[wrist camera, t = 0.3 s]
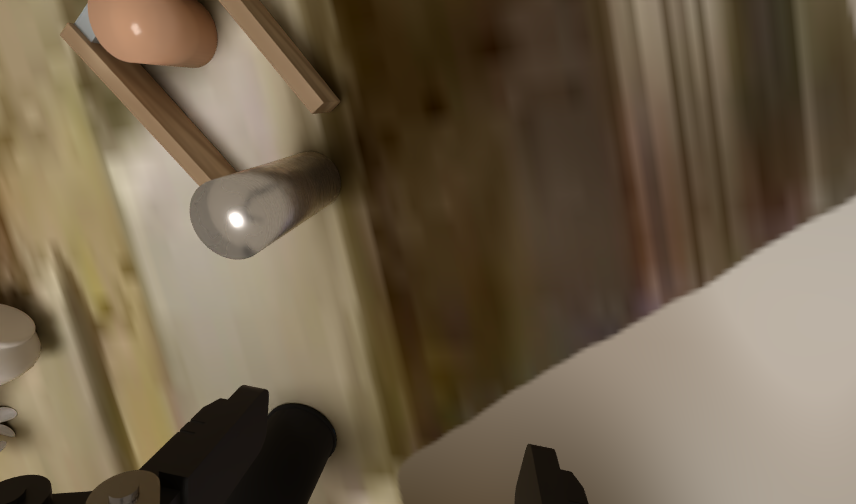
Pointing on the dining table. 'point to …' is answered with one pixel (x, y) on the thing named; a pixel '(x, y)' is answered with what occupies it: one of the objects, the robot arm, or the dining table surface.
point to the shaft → (262, 203)
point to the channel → (162, 110)
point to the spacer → (155, 31)
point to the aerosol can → (287, 458)
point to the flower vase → (15, 354)
